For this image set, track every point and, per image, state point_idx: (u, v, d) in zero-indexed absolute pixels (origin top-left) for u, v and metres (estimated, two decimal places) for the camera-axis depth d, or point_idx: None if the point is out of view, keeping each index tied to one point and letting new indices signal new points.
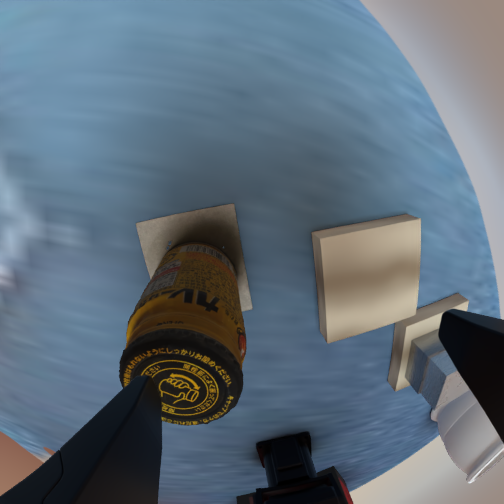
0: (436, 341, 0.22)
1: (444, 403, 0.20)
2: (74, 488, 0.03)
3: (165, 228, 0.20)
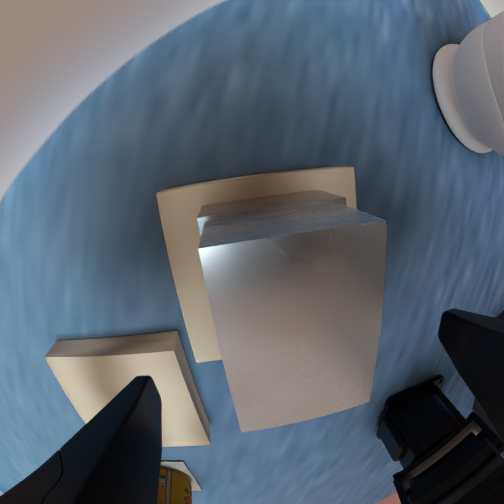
0: None
1: (365, 382, 0.09)
2: (75, 487, 0.03)
3: None
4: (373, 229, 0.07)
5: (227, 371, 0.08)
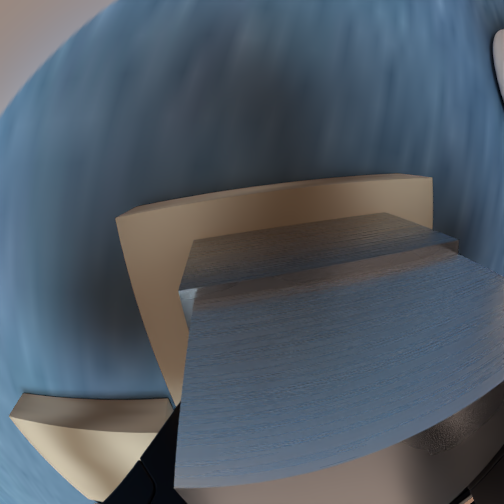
0: None
1: None
2: (173, 500, 0.03)
3: None
4: None
5: None
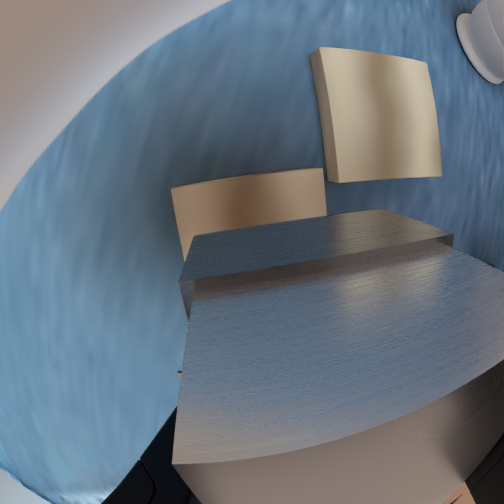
0: None
1: (440, 501, 0.04)
2: (173, 500, 0.03)
3: None
4: None
5: None
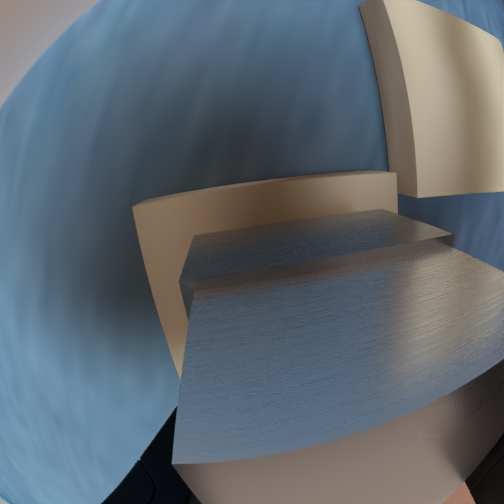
0: None
1: (440, 501, 0.04)
2: (174, 500, 0.03)
3: None
4: None
5: None
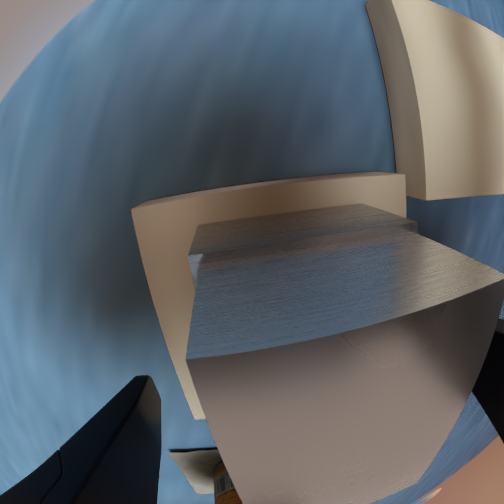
0: None
1: (420, 469, 0.05)
2: (74, 487, 0.03)
3: (201, 483, 0.16)
4: (493, 293, 0.03)
5: (242, 497, 0.04)
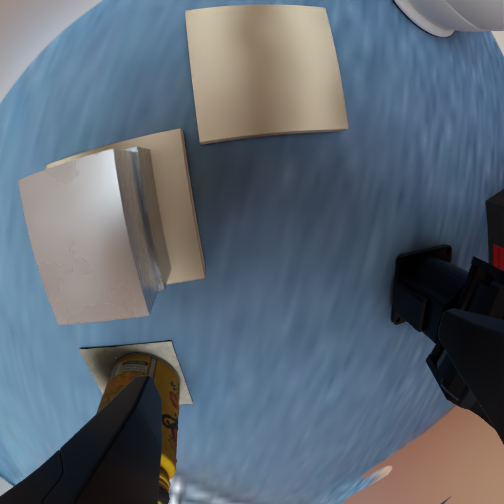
0: None
1: (134, 290, 0.11)
2: (75, 488, 0.03)
3: None
4: (103, 156, 0.09)
5: (37, 262, 0.10)
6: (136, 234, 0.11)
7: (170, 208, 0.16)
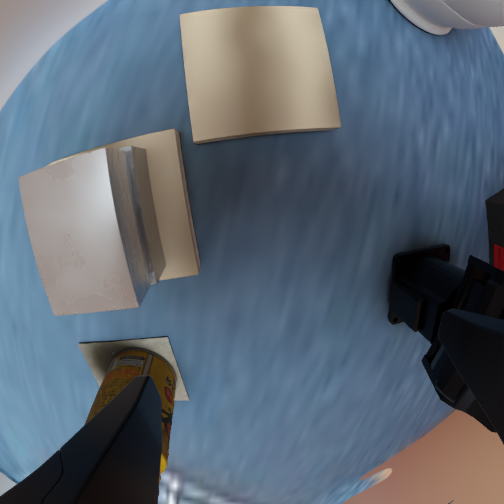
0: None
1: (124, 282, 0.11)
2: (74, 488, 0.03)
3: None
4: (96, 154, 0.10)
5: (35, 255, 0.10)
6: (128, 229, 0.12)
7: (165, 206, 0.16)
